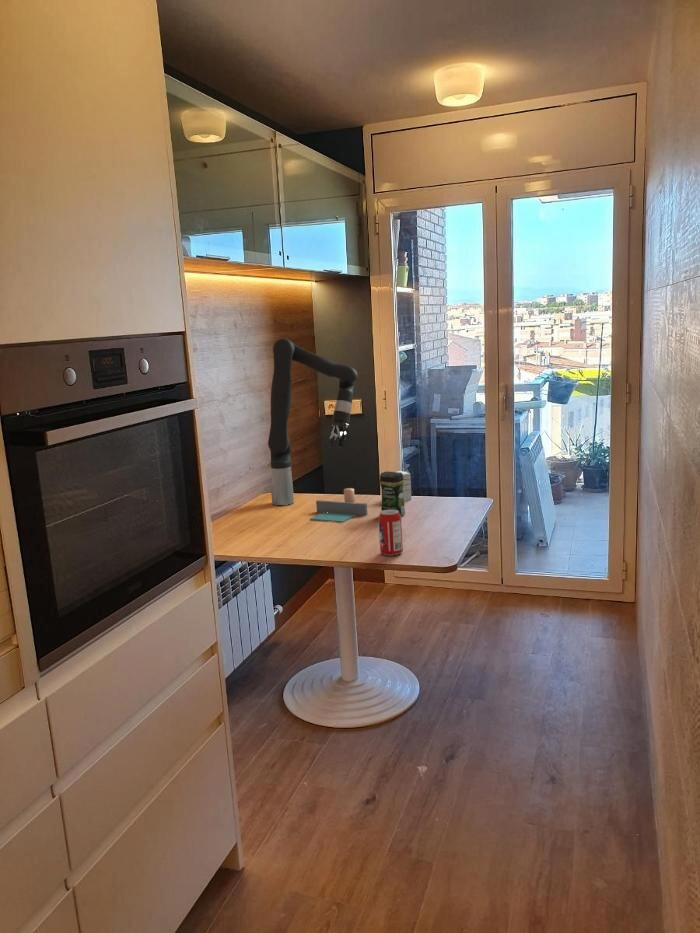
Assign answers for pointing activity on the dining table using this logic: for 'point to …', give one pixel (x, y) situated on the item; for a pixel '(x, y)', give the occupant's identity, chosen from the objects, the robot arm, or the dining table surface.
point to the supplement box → (406, 486)
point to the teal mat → (333, 517)
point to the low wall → (342, 507)
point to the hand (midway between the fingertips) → (335, 447)
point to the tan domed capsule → (349, 495)
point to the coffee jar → (392, 491)
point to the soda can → (390, 532)
